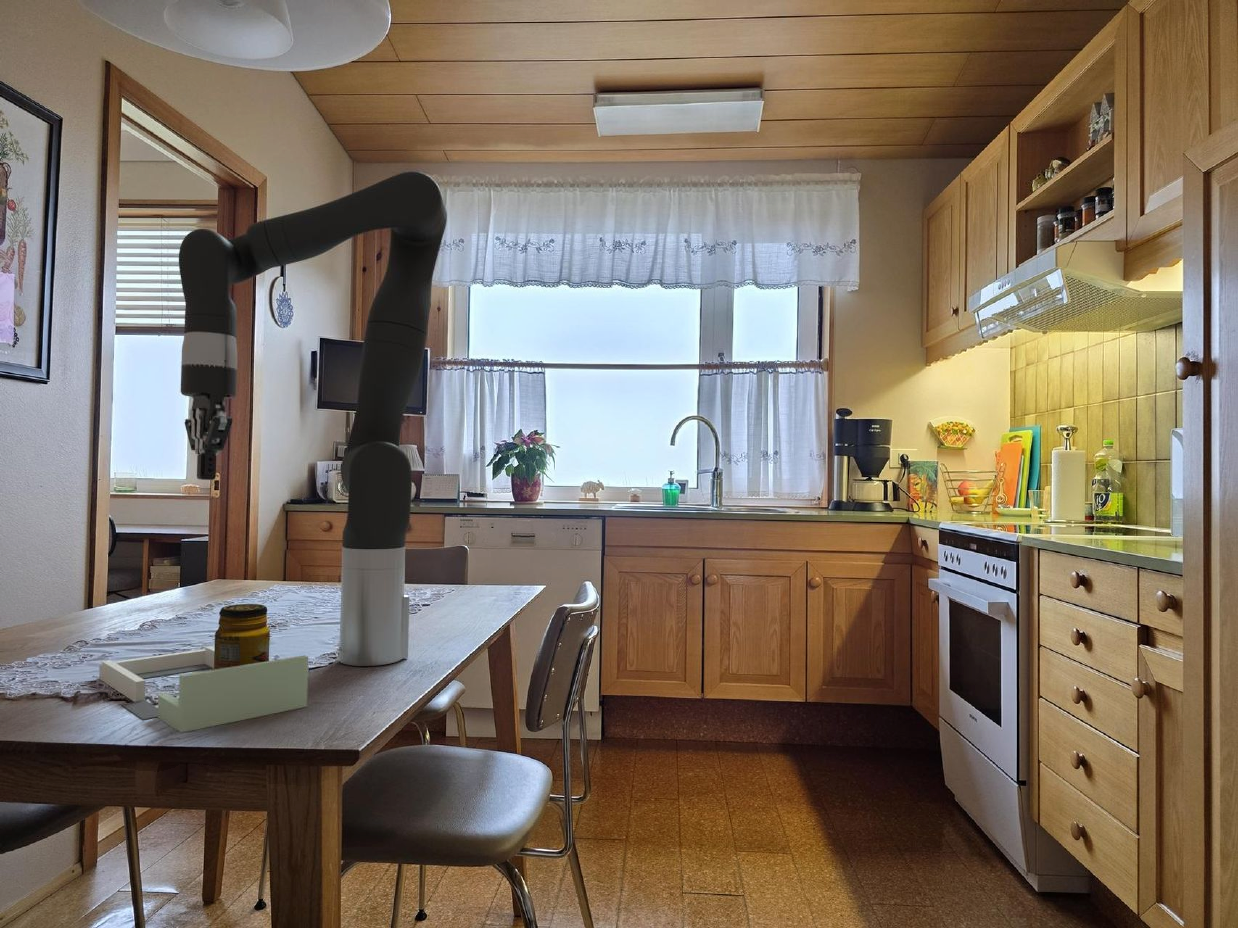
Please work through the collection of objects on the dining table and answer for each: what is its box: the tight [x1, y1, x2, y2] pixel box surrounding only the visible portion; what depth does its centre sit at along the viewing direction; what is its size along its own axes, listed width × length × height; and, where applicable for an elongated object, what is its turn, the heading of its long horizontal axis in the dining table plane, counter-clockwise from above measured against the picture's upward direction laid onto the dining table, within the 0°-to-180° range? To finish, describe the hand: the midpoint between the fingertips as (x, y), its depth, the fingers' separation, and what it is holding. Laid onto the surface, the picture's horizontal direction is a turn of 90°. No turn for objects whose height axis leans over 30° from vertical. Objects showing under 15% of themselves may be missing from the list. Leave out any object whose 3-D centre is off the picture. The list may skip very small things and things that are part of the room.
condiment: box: [213, 603, 271, 670], centre depth 94 cm, size 7×8×12 cm
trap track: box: [98, 645, 309, 733], centre depth 99 cm, size 16×31×6 cm, turn 47°
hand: (206, 479), depth 118 cm, fingers closed
